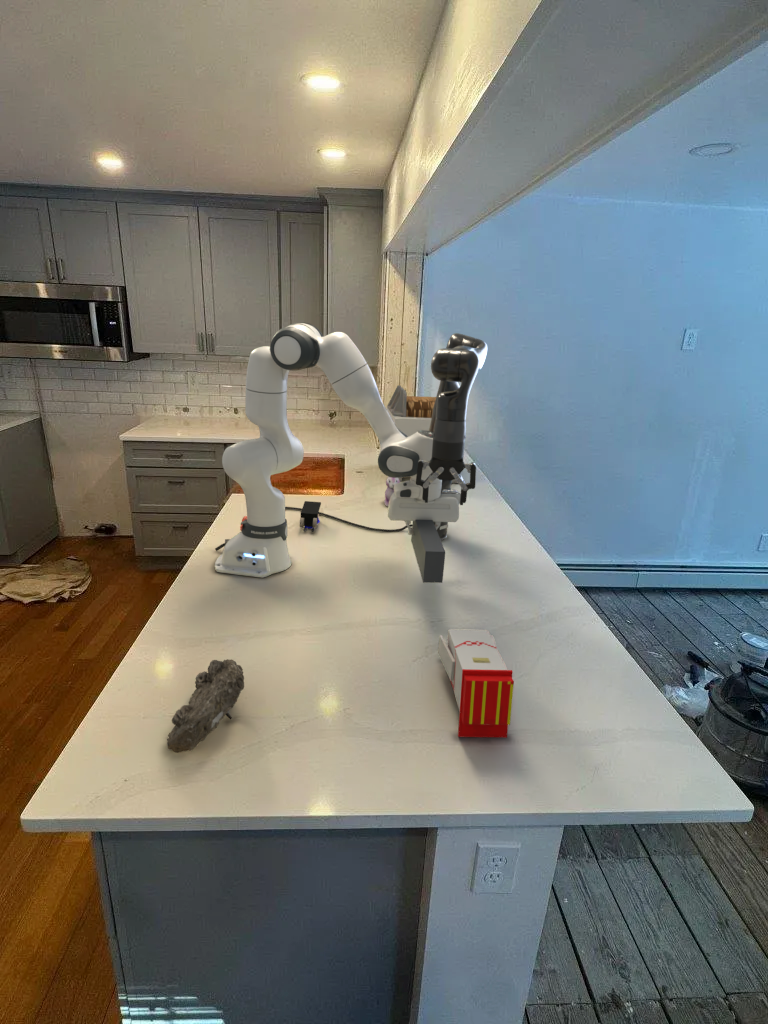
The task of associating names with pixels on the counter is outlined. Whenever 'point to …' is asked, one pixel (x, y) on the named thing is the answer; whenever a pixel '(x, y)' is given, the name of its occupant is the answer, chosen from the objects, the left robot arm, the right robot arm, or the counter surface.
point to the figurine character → (310, 515)
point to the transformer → (411, 413)
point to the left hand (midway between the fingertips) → (421, 534)
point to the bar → (428, 551)
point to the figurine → (390, 488)
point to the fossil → (206, 705)
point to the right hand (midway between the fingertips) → (443, 503)
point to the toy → (478, 682)
